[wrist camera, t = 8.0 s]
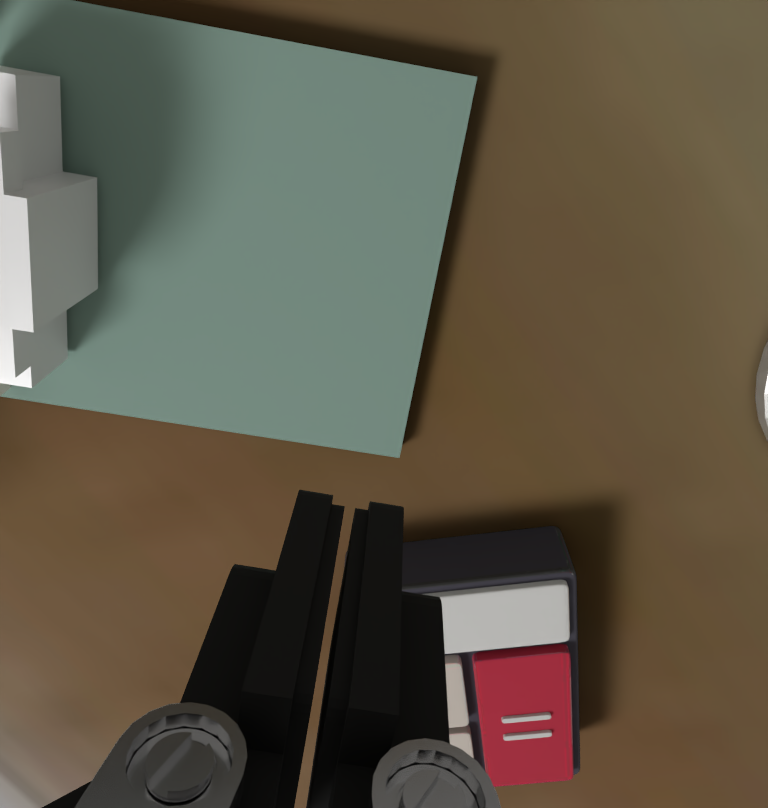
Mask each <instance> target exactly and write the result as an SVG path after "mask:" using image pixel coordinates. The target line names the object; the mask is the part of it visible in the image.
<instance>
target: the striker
mask: <svg viewBox="0 0 768 808" xmlns="http://www.w3.org/2000/svg"><path fill="white" fill-rule="evenodd" d="M97 289H98V217H97V177H92V176H86V175H80V174H74V173H69V172H63V167H62V131H61V95H60V76H54V75H49V74H44V73H38V72H33V71H27V70H22V69H16V68H11V67H5V66H0V383H3V384H9V385H15V386H22V387H28V388H32V387H34V386H35V385H36V384H37V383H39V382H40V381H41V380H42V379H43V378H45V377H46V376H47V375H48V374H49V373H51V372H52V371H53V370H54V369H55V368H57V367H58V366H59V365H60V364H61V363H63V362H64V361H65V360H66V359H67V358H68V346H67V309H69V308H70V307H72V306H73V305H75V304H76V303H78V302H79V301H81V300H82V299H84V298H85V297H87V296H88V295H90V294H91V293H93V292H94V291H95V290H97Z"/></svg>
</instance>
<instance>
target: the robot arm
mask: <svg viewBox="0 0 768 808" xmlns="http://www.w3.org/2000/svg"><path fill="white" fill-rule="evenodd" d="M755 400H756V406H757V413H758V419H759V423H760V425H761V427H762V430H763V432H764V434H765V437H766V439H767V441H768V341H767V343H766V345H765V347H764V350H763V354H762V357H761V361H760V365H759V368H758V372H757V380H756V395H755ZM332 499H333V495H328V494H322V493H316V492H310V491H304V490H299V492H298V496H297V499H296V503H295V506H294V510H293V513H292V517H291V520H290V524H289V527H288V530H287V534H286V537H285V541H284V544H283V548H282V551H281V555H280V558H279V562H278V565H277V569H276V571H274V570H268V569H262V568H256V567H249V566H243V565H237V564H235V565H234V566H233V567H232V569H231V571H230V574H229V576H228V579H227V582H226V584H225V587H224V589H223V592H222V595H221V597H220V600H219V602H218V605H217V608H216V610H215V613H214V616H213V618H212V621H211V623H210V626H209V629H208V631H207V634H206V637H205V639H204V642H203V644H202V647H201V650H200V652H199V655H198V658H197V660H196V663H195V665H194V668H193V671H192V673H191V676H190V678H189V681H188V684H187V686H186V689H185V692H184V694H183V697H182V699H181V702H180V703H177V704H169V705H166V706H163V707H160V708H158V709H155V710H152V711H150V712H148V713H147V714H145V715H144V716H142V717H141V718H139V719H138V720H136V721H135V722H133V723H132V724H131V725H130V727H129V728H128V729H127V730H126V731H125V732H124V733H123V735H122V736H121V737H120V738H119V740H118V741H117V743H116V744H115V746H114V747H113V749H112V750H111V752H110V753H109V755H108V757H107V758H106V760H105V761H104V763H103V764H102V766H101V767H100V769H99V770H98V772H97V774H96V775H95V777H94V778H93V780H92V781H91V782H89V783H87V784H85V785H83V786H81V787H79V788H78V789H76V790H74V791H72V792H70V793H68V794H66V795H65V796H63V797H61V798H59V799H57V800H55V801H53V802H52V803H50V804H48V805H46V806H44V807H42V808H294V804H295V799H296V793H297V787H298V781H299V775H300V770H301V764H302V758H303V752H304V747H305V741H306V735H307V729H308V723H309V718H310V712H311V706H312V700H313V694H314V688H315V682H316V676H317V670H318V664H319V658H320V652H321V646H322V640H323V634H324V628H325V622H326V616H327V610H328V604H329V598H330V592H331V586H332V579H333V573H334V567H335V561H336V555H337V549H338V543H339V537H340V531H341V525H342V519H343V513H344V507H345V506H339V505H333V504H332ZM403 518H404V508H403V507H401V506H395V505H389V504H383V503H377V502H371V501H370V503H369V507H368V510H363V509H357V508H355V512H354V518H353V523H352V529H351V535H350V540H349V546H348V551H347V557H346V562H345V568H344V574H343V579H342V585H341V590H340V596H339V601H338V607H337V612H336V618H335V624H334V629H333V635H332V641H331V647H330V653H329V659H328V666H327V672H326V679H325V686H324V693H323V699H322V706H321V713H320V719H319V726H318V733H317V739H316V746H315V753H314V759H313V766H312V773H311V780H310V786H309V793H308V800H307V806H306V808H501V806H500V802H499V799H498V795H497V793H496V791H495V788H494V786H493V784H492V781H491V779H490V777H489V776H488V774H487V773H486V772H485V771H484V769H483V768H482V767H481V765H480V764H479V763H478V762H477V761H476V760H475V759H474V758H472V757H471V756H470V755H468V754H467V753H466V752H465V751H463V750H462V749H460V748H458V747H456V746H453V745H451V744H450V738H449V720H448V702H447V685H446V667H445V649H444V631H443V614H442V602H441V599H440V597H436V596H430V595H423V594H417V593H411V592H405V591H402V562H403Z"/></svg>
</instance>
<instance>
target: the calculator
mask: <svg viewBox="0 0 768 808" xmlns="http://www.w3.org/2000/svg"><path fill="white" fill-rule="evenodd" d="M346 557H347V552H346V556H345V562H346ZM344 568H345V567H344ZM402 591H405V592H411V593H417V594H423V595H430V596H436V597H440V599H441V602H442V614H443V631H444V649H445V667H446V685H447V702H448V720H449V738H450V744H451V745H453V746H456V747H458V748H460V749H462V750H463V751H465V752H466V753H467V754H468V755H470V756H471V757H472V758H474V759H475V760H476V761H477V762H478V763H479V764H480V765H481V767H482V768H483V769H484V771H485V772H486V773H487V774H488V776H489V777H490V779H491V781H492V784H493V786H494V787H496V786H508V785H519V784H531V783H543V782H554V781H566V780H571V779H572V778H573V775H575V774H577V773H578V772H579V770H580V735H579V682H578V629H577V579H576V573H575V570H574V567H573V564H572V561H571V558H570V556H569V553H568V550H567V547H566V544H565V541H564V539H563V536H562V533H561V531H560V529H559V528H558V527H555V526H547V527H538V528H529V529H520V530H511V531H502V532H493V533H484V534H475V535H466V536H457V537H448V538H439V539H430V540H421V541H412V542H403V562H402Z"/></svg>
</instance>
